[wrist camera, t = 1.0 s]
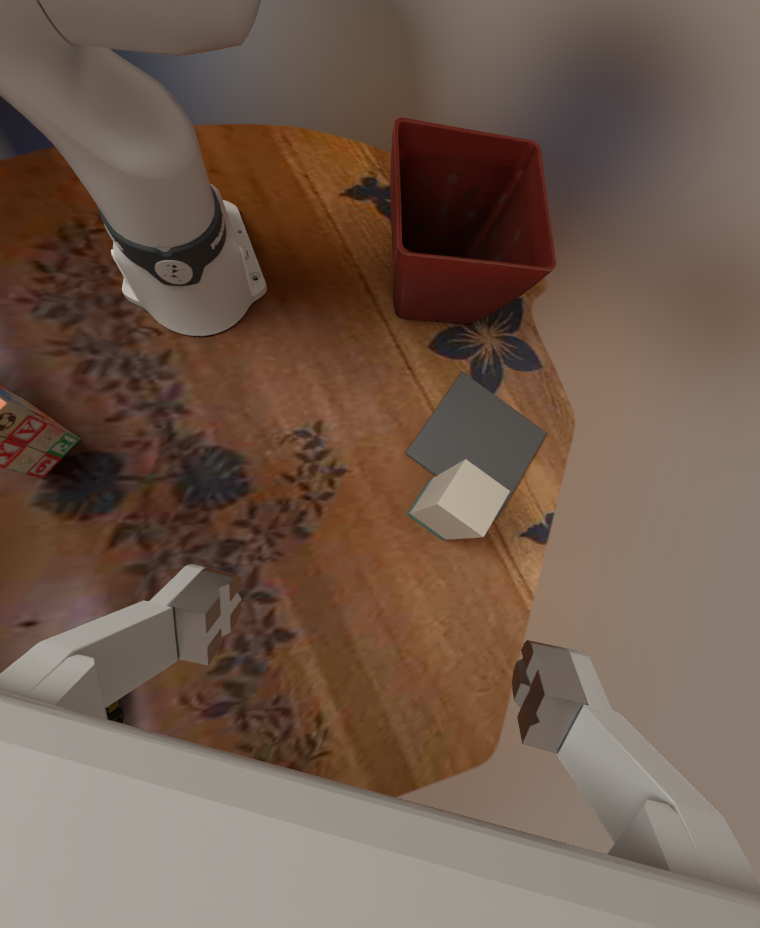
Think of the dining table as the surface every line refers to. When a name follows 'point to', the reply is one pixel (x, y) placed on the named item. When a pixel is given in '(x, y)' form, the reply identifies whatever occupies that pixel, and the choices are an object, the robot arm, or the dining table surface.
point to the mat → (477, 435)
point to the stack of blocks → (30, 437)
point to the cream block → (459, 502)
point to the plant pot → (465, 221)
